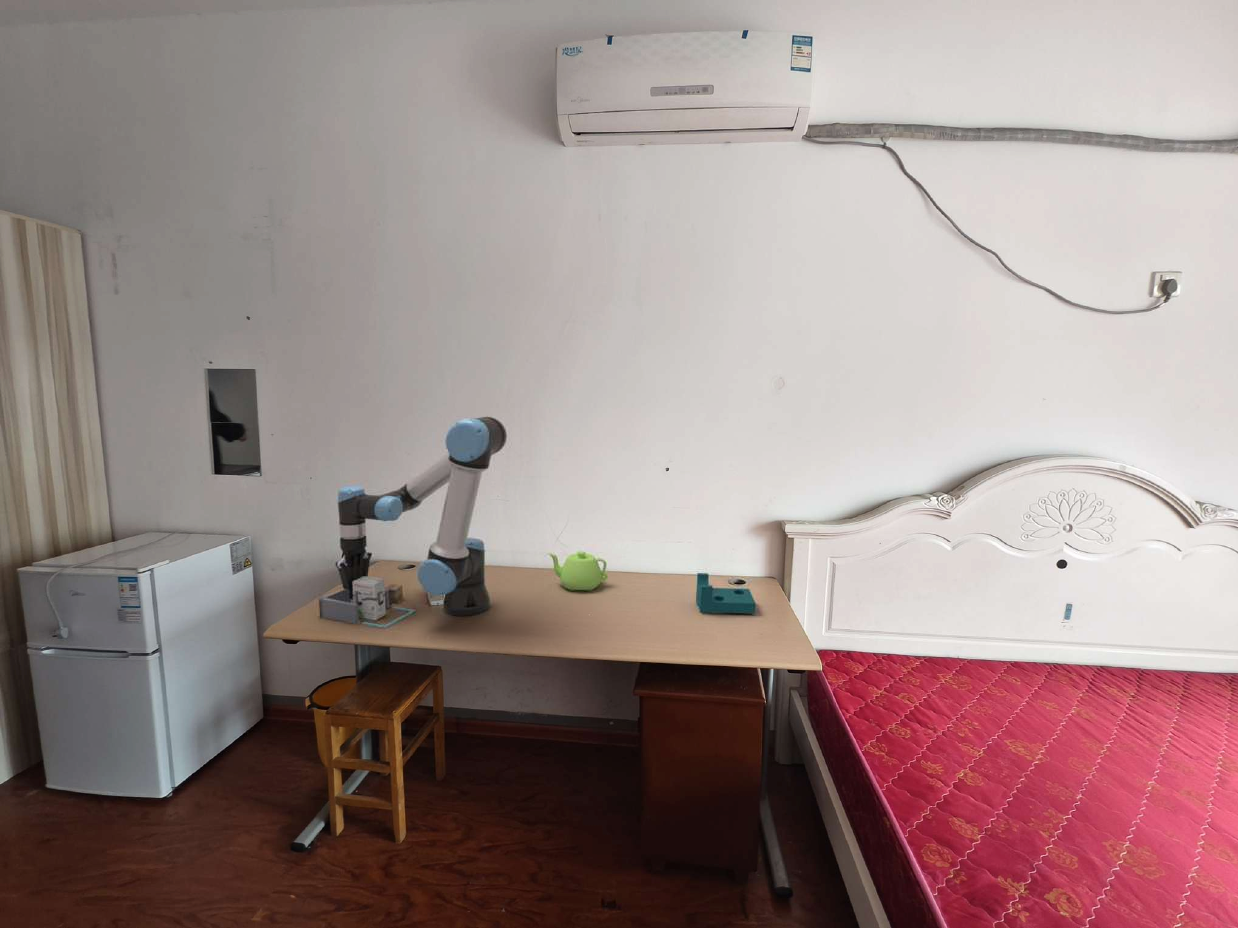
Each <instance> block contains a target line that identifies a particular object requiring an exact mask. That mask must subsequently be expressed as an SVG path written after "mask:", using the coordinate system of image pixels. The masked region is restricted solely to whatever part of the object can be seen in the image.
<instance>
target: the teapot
mask: <svg viewBox="0 0 1238 928" xmlns="http://www.w3.org/2000/svg"><path fill="white" fill-rule="evenodd" d="M547 554H548V555H549V556H550V557H551V558H552V561H553V570H554V573H555V575H556V576H558V577H559V580H560V583H561V584H562V586H563V587H564V588H566V589H568V591H587V592H590V591H593V589H596V588H598V586H599V585H600V584H601V582H602V581H607V579H608V574H607V573H606V568H607V562H606V560H605V559H604V558H601V557H598V558H596V557H595V556H594V555H593V554H590V553H587V552H585V551H581V550H580V551H577V552H576V553H573V554H570V555H568V556H567V558H566V559H565V561H564V563H563V564H562V565H563V566H562V567H561V565H560V564H559V558H558V557H557V555H556V554H554V553H552V552H551V553H550V552H548V553H547ZM599 562H601V563H603V567H602V570H601V567H600V565H599Z"/></svg>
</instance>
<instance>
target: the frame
mask: <svg viewBox="0 0 1238 928" xmlns="http://www.w3.org/2000/svg"><path fill="white" fill-rule="evenodd" d="M391 609H392V610H397V611H402V612H406V613H405V614H403V615H402V616H400V617H398V618H396V619H394V620H392V621H390V622H389V623H387V624H385V625H382V624H377V623H372V622H368V621H364V622H362V625H364V626H369V627H373V628H374V627H375V628H379V629H384V630H385V629H387V628H389V627H391V626H393V625H394V624H396V623H398V622H400V621H401V620H403V619H405V618H407V617H409V616H411V615H413V614H414V613H416V612H417V611H416V609H409V608H405V607H398V606H392V607H391Z"/></svg>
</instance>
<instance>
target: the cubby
mask: <svg viewBox="0 0 1238 928" xmlns="http://www.w3.org/2000/svg"><path fill="white" fill-rule="evenodd" d="M318 606H319V607H318V608H319V618H323V619H328V620H333V621H337V622H343V623H347V624H353V625H358V624H359V623H360V618H359V612H358V604H355V603H351V599H350V597H349V590H348V589H344V588H341V589H338V590H336V591H334V592H332V593H329V594H327V595H324V596H321V597H320V598H318ZM389 608H390V604H389V590H388V589H385V610H386V609H389Z"/></svg>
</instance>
